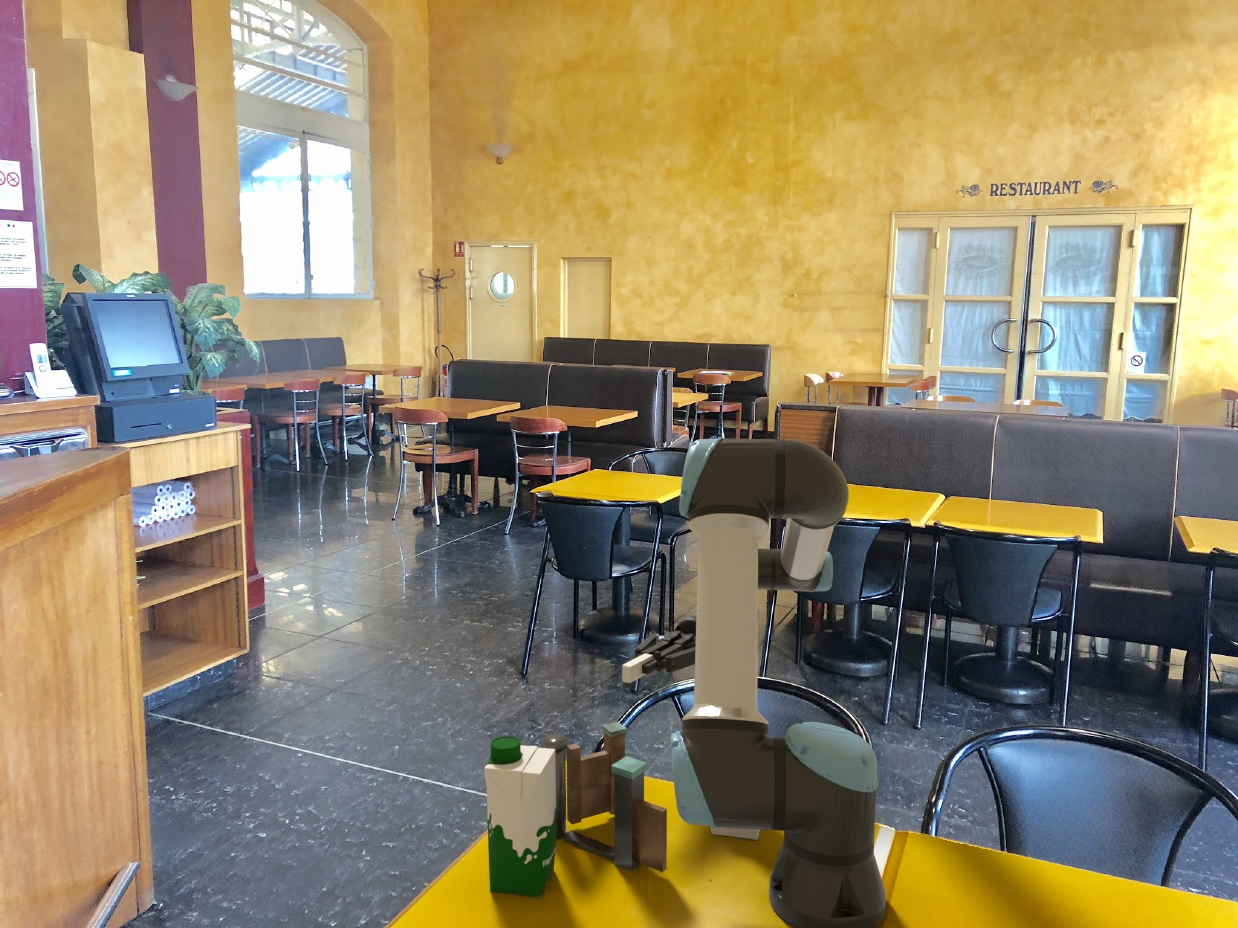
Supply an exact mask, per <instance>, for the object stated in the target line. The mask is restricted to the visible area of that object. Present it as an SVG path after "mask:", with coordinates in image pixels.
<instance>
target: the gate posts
mask: <svg viewBox="0 0 1238 928" xmlns="http://www.w3.org/2000/svg"><path fill="white" fill-rule="evenodd" d="M542 740H543V741H542V743H543V744H542V746H543V747H542V748H548V749H555V774H556V840H557V839H562V841H563V842H565V843H568V844H570V845H572V846H575V847H578V848H580V849H582V850H585V851H587V852H589V853H592V854H594V855H596V856H599V857H601V858H603V859H606V860H609V861H611V862H613V861H614V865H615V866H617V867H620V868H623V869H625V870H626V871H630V872H633V871H635V870H636V869H637V868H638V867H639V866H641V865H642V866H645V867H648V868H649V869H652V870H655V871H657V872H660V873H664V872H665V871H666V870H667V849H668V845H667V843H668V841H667V839H668V838H667V837H668V834H667V833H668V826H667V825H668V809H667V807H663V806H660V805H657V804H655V803H651V802H650V801H646V800H645V772H646V771H647V770H648V762H646V761H642V760H640V759H637V758H633V757H631V756H627V755H625V757H624V758H623V759H621V760H619V761H618V762H616V763H615V764H613V765H611V772H612V773H614V814H613V815H614V817H613V818H614V846H612V845H611V844H607V843H606V842H605V843H604V842H603V841H600V840H597V839H595V838H592V837H590V836H587V835H585V834H583V833H580V832H578V831H575V830H573V829H569V830H568V831H567V752H566V748H567V746H568V745H569V744H568V737H567V736H565V735H564V734H557V733H556V734H548V735H546V736H544V737H543V739H542Z"/></svg>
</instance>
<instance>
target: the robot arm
mask: <svg viewBox="0 0 1238 928" xmlns="http://www.w3.org/2000/svg"><path fill="white" fill-rule="evenodd" d="M683 466H684V467H683V472H682V478H681V485H680V493H679V494H680V495H679V505H678V506H679V507H678V508H679V510H678V511H679V514H680V516H682V517H684V518H688V528H689V530H690V531H691V532H692V533H693V534H694V535H695V536H696V537H697V538H698V552H697V553H698V557H697V561H698V562H697V586H696V587H697V591H696V592H697V593H696V613H694V614H693V615H690V616H688V617H686V618H684V619H682V620H681V621H680V622H679V623H678V624H677V625H676V627H675V629H674V630H673V631H669V632H666V633H665V634H664V635H659V633H657V632H656V631H654V630H653V631H649V633H648V636H647V637H646V638H645V639H644V640H643V641H642V642H640V643H639V644H638V645H636V647H635V648H634V658H632V659H630V660H629V661H628V662H625V663H624V664H622V666H621V679H622V680H621V681H622V682H623V683H628V684H631V683H633V682H635V681H637V680H638V679H641V678H643V677H644V676H647V675H650V674H651V673H654V672H661V671H663V670H665V672H666V673H673V672H675V671H678V670H682V669H685V668H688V667H691V666H694V686H693V687H694V689H693V690H694V691H693V692H694V694H693V706H692V708H691V710H690V711H688V712H686V714H685V715H684V716H683V717H682V718H681V721H682V724H681V730H677V731H675V732H673V733H671V735H670V745H671V746H670V749H671V767H672V777H673V787H674V797H675V802H676V809H677V814H678V815H679V818H680V819H681V820H682V821H683V822H685V823H686V824H689V825H694V826H695V825H696V826H703V827H704V826H705V827H710V828H711V827H712V828H716V827H724V828H741V829H758V830H760V831H762V830H763V831H780V832H781V831H782V832H783V842H782V845H781V848H780V850H779V852H778V855H777V857H776V861H775V862H774V866H773V867H772V870H771V872H770V877H769V881H768V882H769V883H768V885H769V887H768V901H769V903H770V905H771V908H772V909H773V911H775V913H776V914H777V915H778V916H779V917H780V918H781V919H782V920H783V921H785V922H787V924H789V925H791V926H793V927H795V928H877V927H879V925H880V924H881V923H882V922H883V919H884V918H885V914H886V902H887V901H886V899H887V897H886V889H885V886H884V883H883V879H882V876H881V872H880V869H879V866H878V863H877V858H876V855H875V853H874V852H875V831H876V826H875V825H876V806H877V805H876V804H877V790H878V788H879V779H878V766H877V765H878V763H877V762H878V761H877V756H876V753H875V751H874V749H873V748H872V746H871V744H870V743H869V742H868V741H866V740H865V739H864V738H863V737H862V736H860V735H858V734H856V733H854V732H853V731H850V730H848V729H847V728H843V727H841V726H838V725H835V724H834V725H833V724H830V723H825V722H817V721H804V722H802V723H795V724H793V725H791V726H790V727H789V728H788V729H787V731H786V733H785V734H784V737H776V736H775V737H773V736H769V724H770V723H769V721H768V720H767V719H766V717H764V716H763V715H762V714H761V713H760V711H759V709H758V653H759V652H758V646H759V645H758V644H759V642H758V641H759V639H758V638H759V637H758V636H759V635H758V633H759V630H758V628H759V626H758V623H759V621H760V611H759V608H758V607H759V605H758V601H759V590H767V591H770V590H772V591H789V592H790V591H792V592H807V593H814V592H827V591H829V590H830V589H831V588H832V585H833V578H834V562H833V556H832V554H831V552H829V551H828V548H829V545H830V542H831V539H832V535H833V532H834V528H835V525H837V524H838V523H839V522H840V521H841V520H842V519H843V517H844V516H845V513H846V510H847V507H848V503H849V497H850V496H849V493H850V491H849V486H848V483H847V480H846V477H845V475H844V473H843V471H842V470H841V468H840V467H839V465H838V464H837V463H836V462H835V461H834V460H833V459H832V458H831V457H830V456H829V455H828V454H827V453H826V452H824V451H822V449H820V448H818V447H817V446H815V445H813V444H810V443H808V442H805V441H802V440H797V439H792V438H791V439H789V438H783V439H771V438H770V439H767V438H766V439H763V438H760V439H758V438H724V437H720V436H719V437H717V438H703V439H702V438H701V439H697V440H694V441H693V442H692V443H691V444H690V446H689V447H688V450H687V453H686V456H685V462H684V465H683ZM770 519H786V523H785V531H784V536H783V537H784V538H783V542H782V548H781V549H780V548H759V540H760V539H761V538H762V537H763V536H765V534H766V533H767V532H769V529H770Z"/></svg>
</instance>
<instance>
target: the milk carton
mask: <svg viewBox="0 0 1238 928" xmlns="http://www.w3.org/2000/svg"><path fill="white" fill-rule="evenodd" d="M483 771H484V778H485V785H486V805H487V807H486V808H487V810H486V811H487V812H486V813H487V846H488V848H487V850H488V851H487V852H488V854H487V855H488V872H489V873H488V874H489V876H488V877H489V891H490V892H493V893H500V894H502V893H503V894H509V895H516V896H517V895H518V896H526V897H533V898H541V896H542V895H543V892H544V890H545V888H546V886H547V884H548V881H549V880H550V877H551V876H552V873H553V871H554V870H555V861H556V853H557V839H556V774H555V749H548V748H544V747H539V746H537V745H522V744H521V740H520V739H519V738H518V737H516V736H510V735H509V736H508V735H507V736H506V735H504V736H499V737H496V738H494V739H492V740H491V742H490V755H489V757H488V761H487V762H486V765H485V766H484V769H483Z"/></svg>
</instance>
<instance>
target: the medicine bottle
mask: <svg viewBox="0 0 1238 928" xmlns="http://www.w3.org/2000/svg"><path fill="white" fill-rule="evenodd" d="M760 831H761V830H758V829H741V828H724V827H716V828H712V827H711V826H710V833H711V834H712V835H715V836H716V835H717V836H725V837H730V838H740V839H747V840H752V841H753V840H754V841H757V840H758V839H759V837H760Z"/></svg>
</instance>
